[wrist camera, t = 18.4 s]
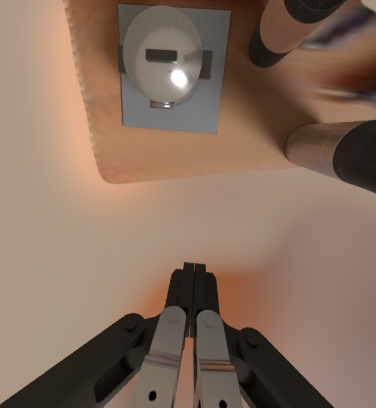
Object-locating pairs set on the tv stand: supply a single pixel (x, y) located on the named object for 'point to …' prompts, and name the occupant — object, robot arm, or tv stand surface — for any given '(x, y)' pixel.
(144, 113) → the mat
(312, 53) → the tv stand surface
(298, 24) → the travel mug
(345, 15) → the tv stand surface
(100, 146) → the tv stand surface
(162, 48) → the lid
